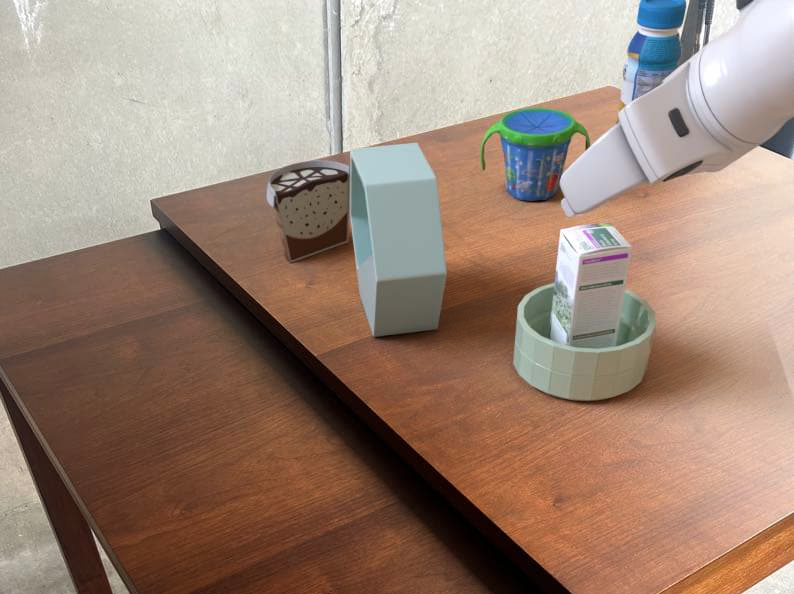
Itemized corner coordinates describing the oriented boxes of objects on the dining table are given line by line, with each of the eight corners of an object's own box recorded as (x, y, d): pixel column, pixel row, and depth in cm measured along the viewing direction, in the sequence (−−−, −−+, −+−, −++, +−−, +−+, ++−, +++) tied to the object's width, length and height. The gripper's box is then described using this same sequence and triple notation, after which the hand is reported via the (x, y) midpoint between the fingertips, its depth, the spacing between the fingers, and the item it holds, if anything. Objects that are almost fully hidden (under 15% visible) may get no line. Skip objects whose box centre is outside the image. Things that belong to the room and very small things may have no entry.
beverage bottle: (645, 155, 136) (671, 11, 122) (602, 141, 141) (622, 0, 127) (676, 140, 140) (705, -1, 126) (633, 127, 145) (656, -11, 131)
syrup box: (613, 371, 94) (637, 245, 84) (562, 379, 93) (579, 252, 83) (593, 343, 98) (613, 219, 88) (544, 350, 97) (558, 226, 87)
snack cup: (474, 204, 126) (477, 131, 118) (483, 174, 133) (487, 104, 126) (583, 211, 123) (593, 137, 116) (586, 181, 130) (596, 109, 123)
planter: (365, 339, 109) (342, 166, 105) (425, 332, 110) (405, 159, 106) (382, 334, 93) (357, 128, 88) (453, 325, 94) (431, 121, 89)
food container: (332, 223, 122) (327, 151, 115) (357, 239, 119) (353, 165, 112) (257, 249, 117) (246, 175, 110) (280, 266, 114) (271, 191, 107)
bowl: (640, 334, 100) (650, 283, 96) (649, 408, 90) (661, 355, 86) (515, 328, 102) (519, 277, 97) (510, 400, 92) (515, 347, 87)
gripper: (767, 45, 75) (654, 132, 87) (615, 107, 66) (513, 195, 78) (798, 113, 76) (682, 190, 88) (652, 183, 67) (545, 258, 79)
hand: (601, 193), depth 83 cm, fingers open, 8 cm apart
